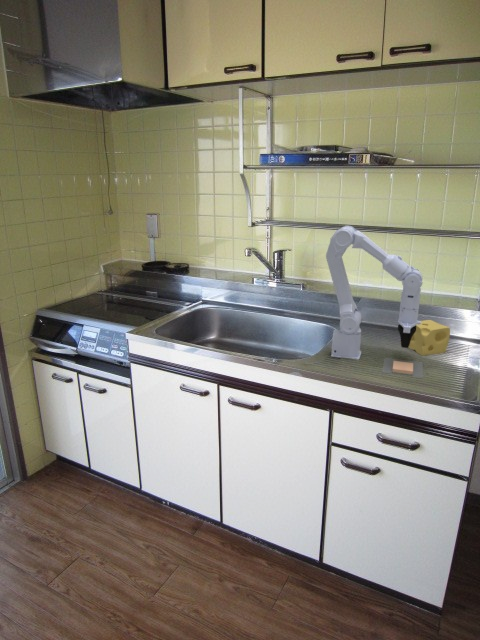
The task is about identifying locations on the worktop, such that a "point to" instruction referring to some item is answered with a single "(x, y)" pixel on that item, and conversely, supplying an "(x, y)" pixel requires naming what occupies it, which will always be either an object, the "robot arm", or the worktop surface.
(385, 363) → the mat
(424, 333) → the cheese
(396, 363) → the tile
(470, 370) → the worktop surface
